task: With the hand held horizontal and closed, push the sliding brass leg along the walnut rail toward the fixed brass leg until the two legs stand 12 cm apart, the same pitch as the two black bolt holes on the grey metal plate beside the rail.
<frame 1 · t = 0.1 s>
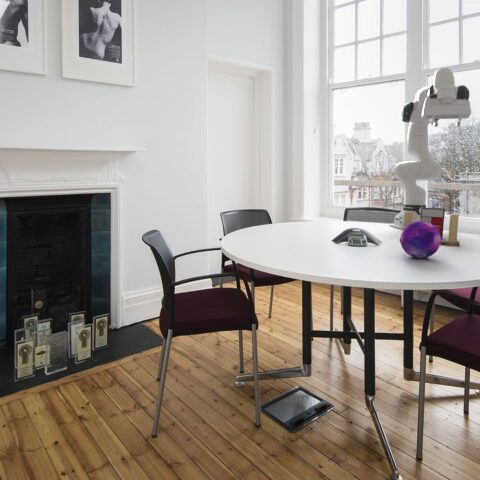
hand: (447, 125, 197), 54 cm above the table, tool tilted 30°, fingers open, 8 cm apart
hole plate: (438, 240, 218), on the table
sliding leg: (408, 224, 214), point 8 cm above the table, slide at 0.0 cm
red and grey box: (430, 237, 229), on the table
fixed leg: (451, 244, 207), resting on rail
rail: (422, 242, 213), on the table
decorative orb: (419, 258, 178), on the table
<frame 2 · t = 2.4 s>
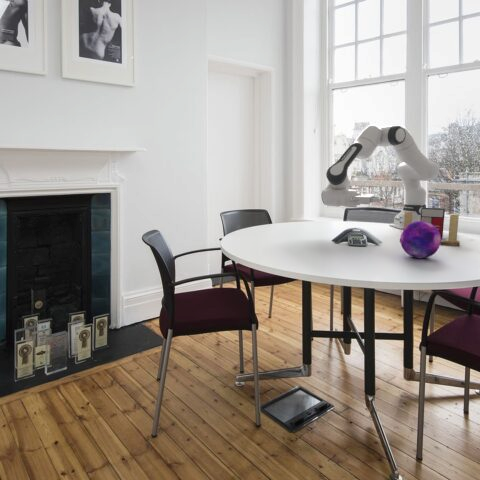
hand: (381, 199, 217), 20 cm above the table, tool horizontal, fingers open, 6 cm apart
nothing on the table moved.
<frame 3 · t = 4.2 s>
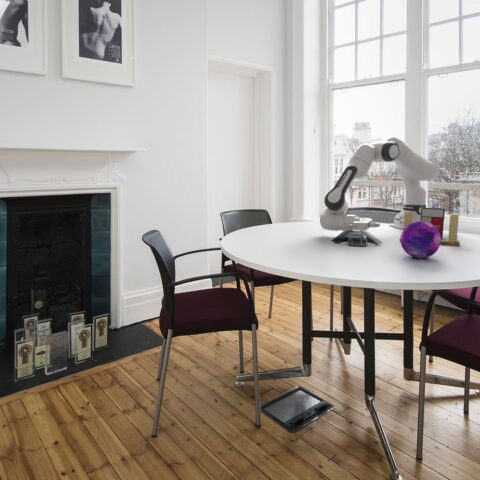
hand: (379, 225, 220), 7 cm above the table, tool horizontal, fingers closed
nothing on the table moved.
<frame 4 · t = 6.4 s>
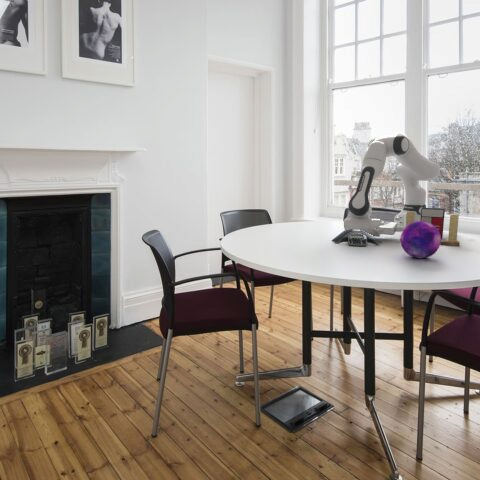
hand: (405, 229, 215), 6 cm above the table, tool horizontal, fingers closed, pressing on sliding leg
sliding leg: (410, 225, 214), point 8 cm above the table, slide at 1.0 cm, touching gripper
everything else where it was.
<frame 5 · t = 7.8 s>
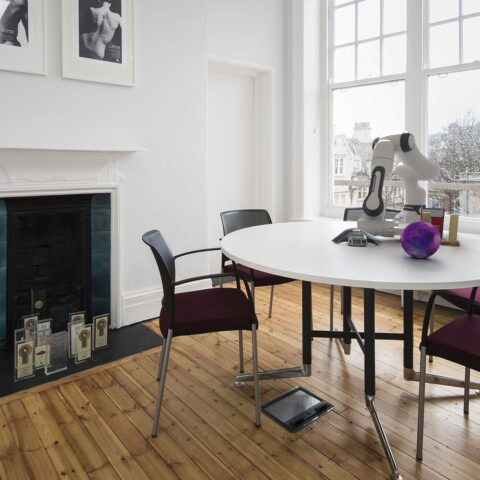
hand: (420, 230, 212), 6 cm above the table, tool horizontal, fingers closed, pressing on sliding leg
sliding leg: (425, 225, 211), point 8 cm above the table, slide at 7.7 cm, touching gripper
everything else where it was.
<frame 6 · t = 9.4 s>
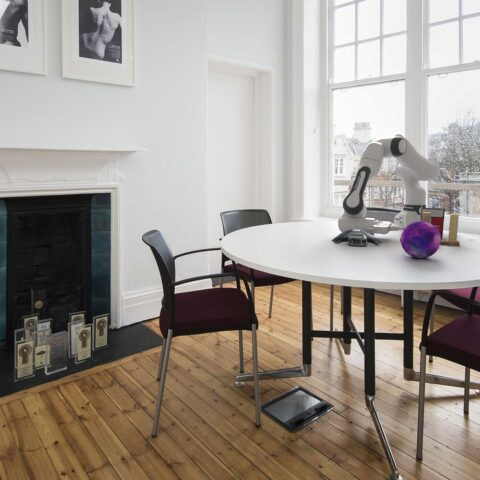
hand: (399, 228, 216), 6 cm above the table, tool horizontal, fingers closed
sliding leg: (425, 225, 211), point 8 cm above the table, slide at 7.9 cm
everything else where it was.
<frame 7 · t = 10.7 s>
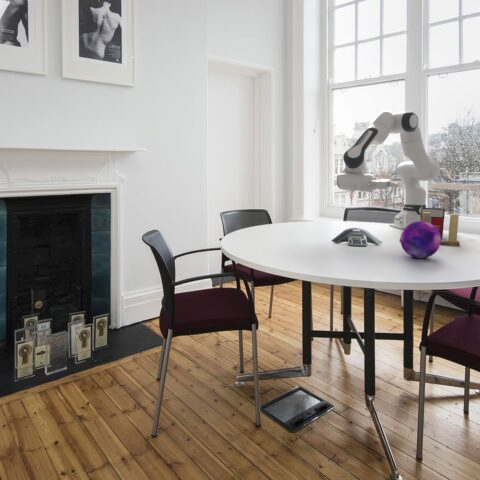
hand: (398, 184, 215), 27 cm above the table, tool horizontal, fingers closed
nothing on the table moved.
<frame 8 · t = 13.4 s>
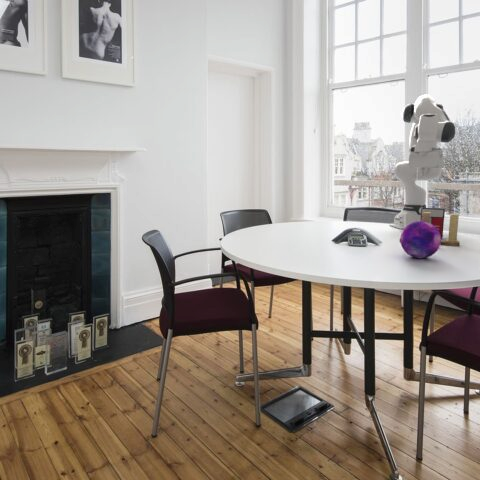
hand: (424, 177, 214), 31 cm above the table, tool pointing down, fingers closed
nothing on the table moved.
at the end: sliding leg slide at 7.9 cm; sliding leg 0.1 cm from the target spot, resting on rail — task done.
